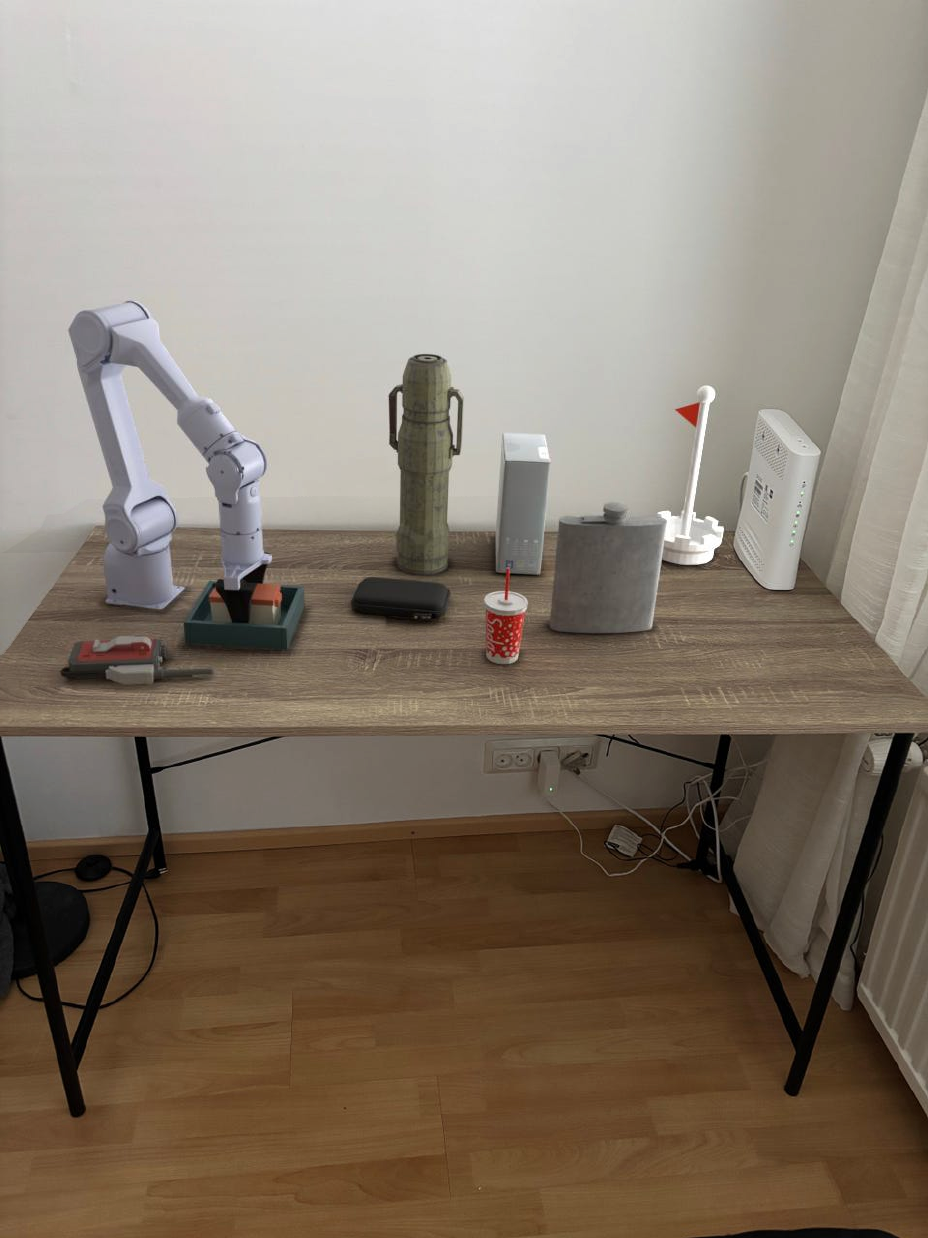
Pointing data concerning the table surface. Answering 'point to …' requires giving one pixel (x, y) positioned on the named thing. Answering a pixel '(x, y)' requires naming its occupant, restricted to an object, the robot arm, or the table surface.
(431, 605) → the carrying case
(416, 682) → the table surface
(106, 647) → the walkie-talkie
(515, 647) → the beverage cup
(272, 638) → the tray
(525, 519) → the hard drive box
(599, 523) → the hip flask
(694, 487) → the flag stand
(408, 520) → the thermos
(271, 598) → the lunchbox
